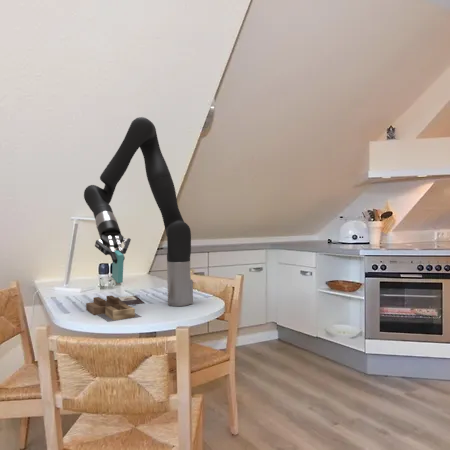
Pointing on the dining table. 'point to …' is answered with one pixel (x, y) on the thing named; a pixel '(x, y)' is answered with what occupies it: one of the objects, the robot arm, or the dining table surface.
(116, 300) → the brown wooden stand
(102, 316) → the mat
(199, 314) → the dining table surface
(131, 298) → the chocolate bar
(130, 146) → the robot arm
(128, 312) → the rack
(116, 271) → the teal rectangular pillar
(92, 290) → the dining table surface
